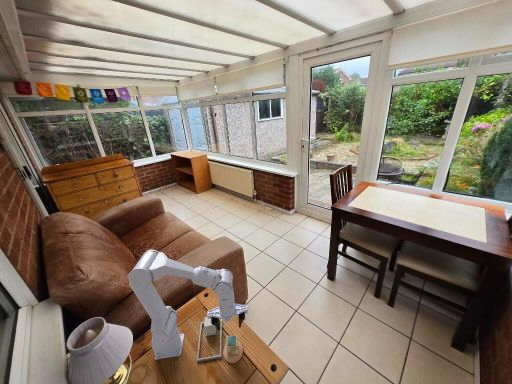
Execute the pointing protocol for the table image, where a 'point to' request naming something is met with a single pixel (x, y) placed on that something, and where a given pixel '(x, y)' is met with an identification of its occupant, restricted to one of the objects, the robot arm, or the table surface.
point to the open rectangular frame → (199, 346)
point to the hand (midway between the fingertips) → (229, 326)
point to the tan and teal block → (232, 345)
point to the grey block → (209, 327)
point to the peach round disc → (234, 358)
